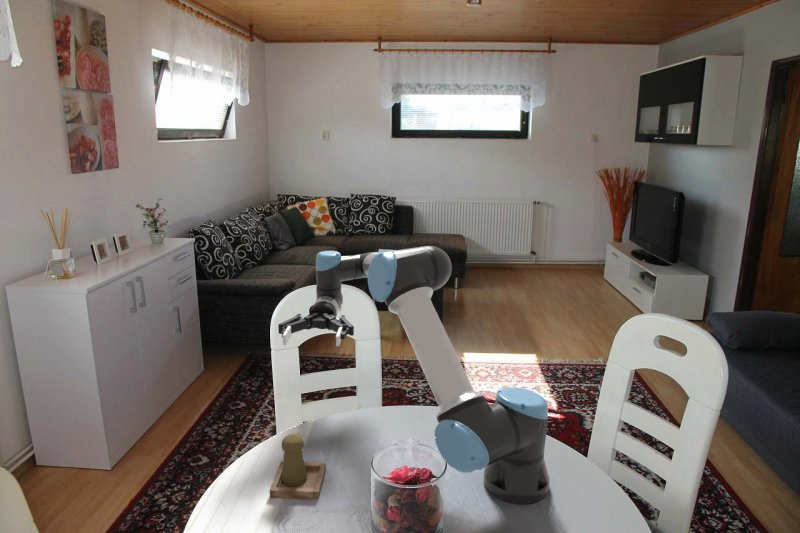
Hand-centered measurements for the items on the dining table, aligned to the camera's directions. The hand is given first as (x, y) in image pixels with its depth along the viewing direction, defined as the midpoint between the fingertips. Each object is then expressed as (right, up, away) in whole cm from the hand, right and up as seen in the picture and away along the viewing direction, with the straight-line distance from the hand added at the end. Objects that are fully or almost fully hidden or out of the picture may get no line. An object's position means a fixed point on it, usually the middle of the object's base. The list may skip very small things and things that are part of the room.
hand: (310, 340), depth 145 cm
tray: (-1, -32, -11) cm, 34 cm away
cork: (-2, -31, -11) cm, 33 cm away
